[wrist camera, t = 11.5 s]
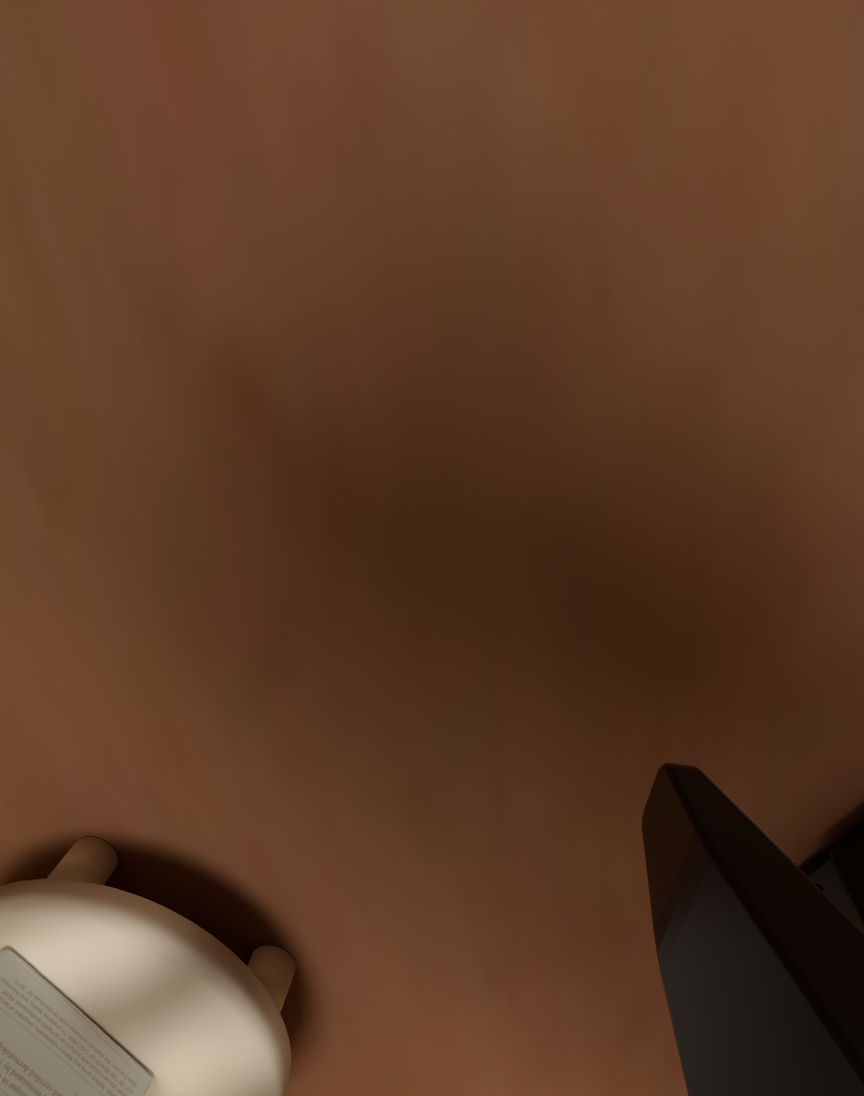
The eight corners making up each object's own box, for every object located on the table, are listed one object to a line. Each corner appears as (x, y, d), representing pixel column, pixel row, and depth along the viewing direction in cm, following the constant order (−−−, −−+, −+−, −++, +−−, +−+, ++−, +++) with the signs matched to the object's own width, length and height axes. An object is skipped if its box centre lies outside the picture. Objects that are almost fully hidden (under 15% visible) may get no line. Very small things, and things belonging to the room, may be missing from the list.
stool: (377, 961, 29) (351, 1066, 25) (216, 1125, 34) (175, 1231, 31) (54, 763, 28) (-23, 844, 24) (-60, 966, 33) (-137, 1058, 29)
